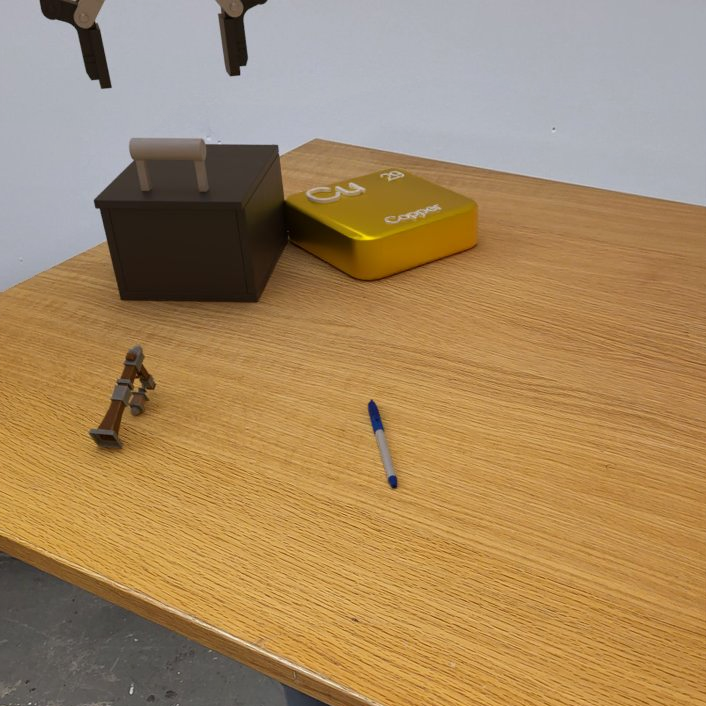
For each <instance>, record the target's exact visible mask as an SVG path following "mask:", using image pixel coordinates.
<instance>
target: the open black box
mask: <svg viewBox="0 0 706 706" xmlns="http://www.w3.org/2000/svg"><path fill="white" fill-rule="evenodd" d="M283 183H284V182H283V175H282V166H281V156H280V153H278V155H277V156H276V158H275V159H274V161H273V163H272V164H271V166H270V167H269V169H268V170H267V172H266V174H265V175H264V177H263V178H262V180H261V181H260V183H259V185H258V186H257V188H256V189H255V191H254V192H253V194H252V196H251V197H250V199H249V200H248V202H247V203H246V205H245V207H244V208H243V210H166V209H99V213H100V217H101V221H102V226H103V230H104V232H105V233H104V234H105V238H106V243H107V248H108V251H109V255H110V260H111V264H112V267H113V274H114V277H115V281H116V285H117V286H116V287H117V290H118V294H119V298H120V301H170V302H171V301H172V302H177V301H178V302H224V303H225V302H226V303H227V302H230V303H231V302H232V303H258V302H259V301H260V298H261V296H262V294H263V292H264V291H265V289H266V286H267V285H268V282H269V280H270V278H271V276H272V274H273V272H274V271H275V268H276V266H277V263H278V262H279V260H280V257H281V255H282V254H283V251H284V250H285V247H286V246H287V243H288V241H289V240H290V238H289V235H288V227H287V218H286V209H285V200H286V199H285V192H284V184H283Z"/></svg>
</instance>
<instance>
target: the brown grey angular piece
mask: <svg viewBox="0 0 706 706" xmlns="http://www.w3.org/2000/svg"><path fill="white" fill-rule="evenodd" d="M143 352H144V350H143V347H142V346H141V345H140V344H139V345H134V346H133V347H132V348H128V350H127V353H126V354H125V358H124V361H123V363H122V364H123V366H124V367H123V370H122V373H121V375H120V378H116V381H115V383H116V384H117V385H116V384H114V388H113V392H112V394H111V396H110V398H109V400H110V401H111V402H110V405H109V407H108V409H107V411H106V413H105V415H104V416H103V418H102V420H101V422H100V424H99V425H98V427H97V428H90V430H89V432H87V434H88V435H89V436H90V438H91V439H92V441H94V443H95V444H96V446H97V447H104V448H115V449H123V444H124V442H123V441H122V440H121V438H120V437H119V435H120V428H121V424H122V419H123V414H124V411H125V408H128V407H129V408H130V414H131V415H132V416H137V415H139V414H140V413H145V406H146V403H147V402H150V398H149V397H148V395H147V394H148V391H155V389H156V387H157V383H156V382H155V378H154V377H153V375H152V374H151V373H149V372H148V370H147V368H146V367H145V365H144V364H143V362H144V360H145V358H146V356H145V355H144V353H143ZM137 379H138V380H139V382H140V384H141V387H137V389H138V390H137V391H134V390H135V388H136V387H135V386H134V383H135V380H137ZM131 397H132V398H131Z"/></svg>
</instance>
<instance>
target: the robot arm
mask: <svg viewBox="0 0 706 706" xmlns="http://www.w3.org/2000/svg"><path fill="white" fill-rule="evenodd" d="M105 1H106V0H39V5H40V11H41V14H42V15H43V16H44V17H45V18H46V19H48V20H49V21H55V20H56V21H59V22H64V23H66V24H69V25H71V26H72V27H73V28H74V29H75V31H76V33H77V37H78V41H79V42H78V43H79V47H80V51H81V54H82V55H81V56H82V61H83V65H84V69H85V74H87V76H88V78H89V79H90V81H98V83H99V85H100V86H99V87H100V90H105V89H106V90H108V89H112V88H113V86H112V81H111V76H110V71H109V66H108V62H107V56H106V51H105V47H104V41H103V37H102V36H103V35H102V32H101V28H100V25H99V23H98V22H96V19H97V17H98V16H99V13H100V12H101V9H102V7H103V5H104V3H105ZM214 1H215V2H216V3H217V5H218V6H219V7H220V12H219V13H217V18H218V25H219V32H220V39H221V47H222V48H221V49H222V54H223V62H224V68H225V71H226V73H227V74H228V76H229V77H239V76H241V67H247V64H248V61H249V54H248V46H247V45H248V44H247V37H246V29H245V28H246V27H245V15H246V13H247V12H248V11H249V10H250V9H252V8H254V7H257V6H262V5H265V4H266V3H267V2H268V1H269V0H214Z"/></svg>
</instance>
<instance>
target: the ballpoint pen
mask: <svg viewBox="0 0 706 706" xmlns="http://www.w3.org/2000/svg"><path fill="white" fill-rule="evenodd" d="M367 410H368V415H369V418H370V422H371V426H372V429H373V433H374V436H375V439H376V441H377V445H378V449H379V453H380V456H381V460H382V464H383V467H384V471H385V476H386V478H387V481H388V483H389V485H390V487H391V488H392V489H394V490H395V489H397V488H398V476H397V473H396V469H395V466H394V462H393V458H392V454H391V452H390V448H389V445H388V442H387V437H386V434H385V429H384V424H383V421H382V418H381V414H380V411H379V408H378V406H377V404H376V402H375V401H374V399H372V398H371V399H370V400H369V401H368V403H367Z"/></svg>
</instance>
